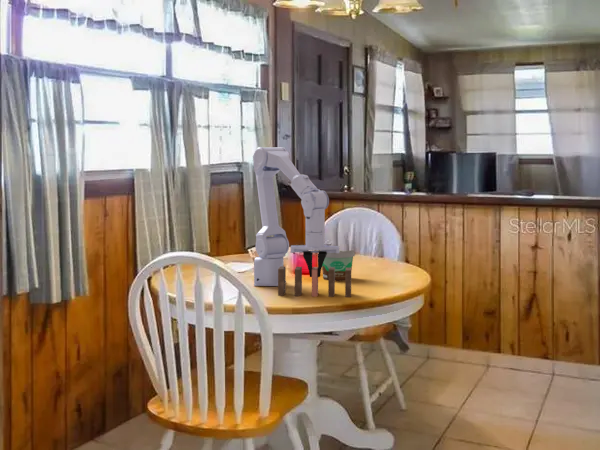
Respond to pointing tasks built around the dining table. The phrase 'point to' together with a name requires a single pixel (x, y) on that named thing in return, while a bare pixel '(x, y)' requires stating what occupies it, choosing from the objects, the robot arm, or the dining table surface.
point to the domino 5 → (348, 282)
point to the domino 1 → (281, 281)
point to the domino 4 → (331, 282)
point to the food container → (338, 264)
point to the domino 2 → (298, 281)
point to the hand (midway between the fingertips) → (315, 276)
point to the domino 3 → (314, 281)
